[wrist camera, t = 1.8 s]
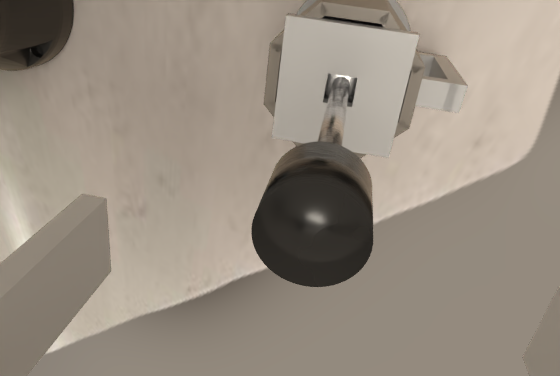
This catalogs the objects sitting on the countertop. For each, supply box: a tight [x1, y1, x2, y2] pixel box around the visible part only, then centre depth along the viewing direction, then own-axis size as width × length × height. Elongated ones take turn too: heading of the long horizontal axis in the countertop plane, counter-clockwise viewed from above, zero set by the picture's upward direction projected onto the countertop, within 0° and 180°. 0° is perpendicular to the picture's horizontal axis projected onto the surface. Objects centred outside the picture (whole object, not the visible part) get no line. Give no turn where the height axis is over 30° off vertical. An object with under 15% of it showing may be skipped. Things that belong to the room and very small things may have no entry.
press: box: [264, 0, 468, 158], centre depth 38 cm, size 14×12×16 cm
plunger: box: [252, 73, 373, 287], centre depth 24 cm, size 8×8×20 cm
